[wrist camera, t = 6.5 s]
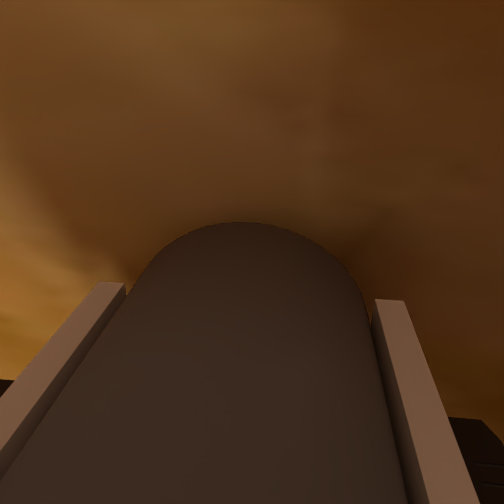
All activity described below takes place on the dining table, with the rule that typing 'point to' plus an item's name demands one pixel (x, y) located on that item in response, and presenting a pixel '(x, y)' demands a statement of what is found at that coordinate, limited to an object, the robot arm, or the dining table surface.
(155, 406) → the dark brown cylinder
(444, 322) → the dining table surface
